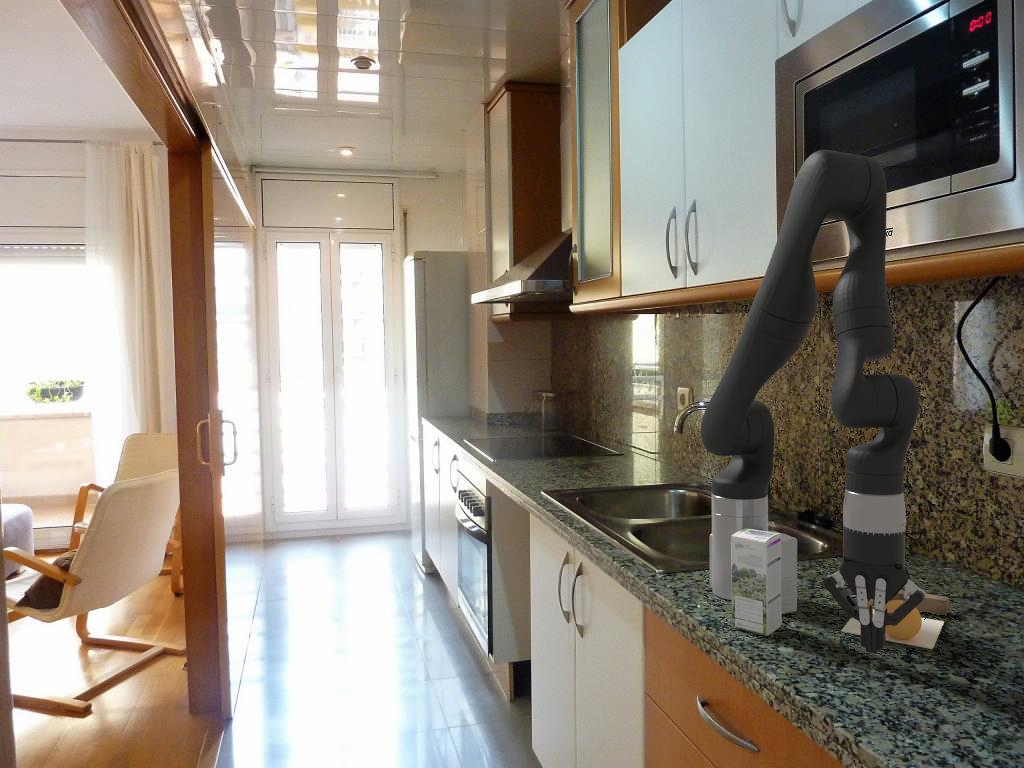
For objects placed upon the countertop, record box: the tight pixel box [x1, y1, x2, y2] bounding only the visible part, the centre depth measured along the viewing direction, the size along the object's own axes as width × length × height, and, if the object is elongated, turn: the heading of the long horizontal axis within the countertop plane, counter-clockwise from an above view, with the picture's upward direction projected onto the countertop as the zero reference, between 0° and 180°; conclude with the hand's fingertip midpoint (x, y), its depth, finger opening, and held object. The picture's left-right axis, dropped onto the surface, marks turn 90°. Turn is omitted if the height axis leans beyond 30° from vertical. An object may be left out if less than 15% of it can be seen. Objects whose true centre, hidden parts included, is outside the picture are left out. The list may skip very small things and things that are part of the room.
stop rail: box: [872, 589, 949, 617], centre depth 124 cm, size 12×2×2 cm, turn 54°
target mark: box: [841, 608, 945, 650], centre depth 116 cm, size 12×12×1 cm
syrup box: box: [731, 529, 783, 637], centre depth 117 cm, size 6×6×14 cm
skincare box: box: [766, 530, 798, 615], centre depth 125 cm, size 6×4×12 cm
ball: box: [886, 600, 922, 639], centre depth 112 cm, size 6×6×6 cm
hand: (873, 651), depth 104 cm, fingers closed
